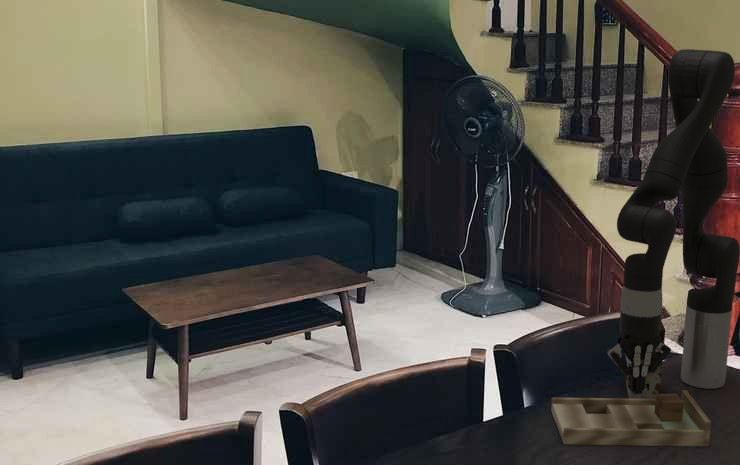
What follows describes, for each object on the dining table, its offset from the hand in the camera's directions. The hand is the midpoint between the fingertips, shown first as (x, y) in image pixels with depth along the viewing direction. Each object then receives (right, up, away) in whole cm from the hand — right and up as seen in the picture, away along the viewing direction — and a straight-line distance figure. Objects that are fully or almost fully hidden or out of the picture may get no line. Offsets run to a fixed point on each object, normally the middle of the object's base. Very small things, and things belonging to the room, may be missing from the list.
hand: (635, 392), depth 171 cm
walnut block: (+7, -5, +1) cm, 8 cm away
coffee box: (+7, -3, +17) cm, 18 cm away
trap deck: (-2, -7, +1) cm, 7 cm away
